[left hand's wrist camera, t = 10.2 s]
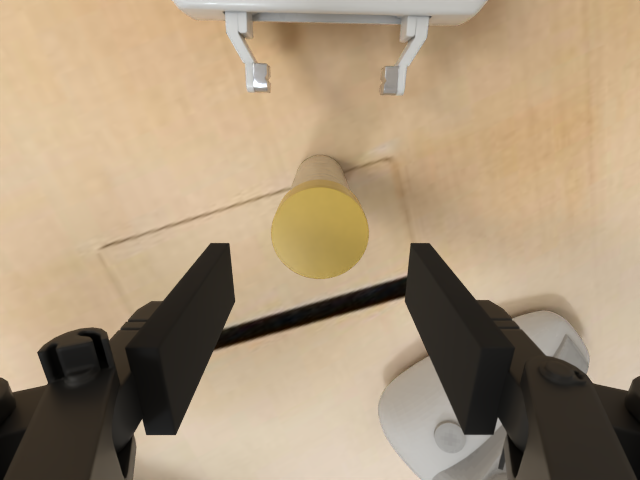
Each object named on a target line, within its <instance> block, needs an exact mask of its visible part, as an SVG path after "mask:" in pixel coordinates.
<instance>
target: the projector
mask: <svg viewBox="0 0 640 480" xmlns="http://www.w3.org/2000/svg"><path fill="white" fill-rule="evenodd" d="M512 321H515V322H516V323H517V325H518V326H519V327H520V329H522V330H523V331H524V332H525V333H526V334H527V335H528V337H529V338H530V339H531V340H532V341H533V342H534V343H535V344H536V345H537V346H538V347H539V348H540V350H541V351H542V352H543V353H544V354H545V355H546V356H552V357H555V358H558V359H561V360H564V361H566V362H568V363H570V364H572V365H574V366H576V367H577V368H579V369H580V370H581V371H583V372H584V373H585V374H586V373H587V371H588V367H589V366H588V365H589V353H588V350H587V348H586V346H585V344H584V342H583V341H582V339H581V338H580V336H579V335H578V333H577V332H576V330H575V329H574V328H573V327H572V325H571V324H570V323H569V322H568V321H567V320H566V319H564V318H563V317H562V316H560V315H558V314H556V313H554V312H551V311H536V312H531V313H528V314H524V315H521V316H518V317H515V318H512ZM378 414H379V420H380V423H381V427H382V429H383V432H384V434H385V436H386V438H387V440H388V441H389V443H390V444H391V446H392V447H393V449H394V450H395V451H396V452H397V454H398V455H399V456H400V457H401V459H402V460H403V461H404V462H405V463H406V464H407V466H408V467H409V468H410V469H411V470H412V471H413V472H414V473H415V474H416V475H417V476H418V477H419V478H420V479H421V480H507V472H506V463H505V464H504V468H503V470H500V469H498V465H499V460H500V456H501V452H502V449H503V445H504V441H505V437H506V433H507V432H506V430H505V428H504V427H503V425H502V423H501V422H500V420H499V418H498V419H497V423H496V427H495V431H494V435H464V433H463V431H462V429H461V427H460V424H459V422H458V420H457V418H456V415H455V413H454V411H453V409H452V406H451V404H450V402H449V400H448V397H447V395H446V393H445V391H444V388H443V386H442V384H441V382H440V379H439V377H438V375H437V373H436V370H435V368H434V366H433V364H432V361H431V359H430V357H429V356H428V357H426V358H424V359H423V360H421V361H419V362H418V363H416V364H415V365H413V366H411V367H410V368H408V369H407V370H406V371H404V372H403V373H401V374H400V375H399V376H397V377H396V378H395V379H394V380H393V381H392V382H391V383H390V384H389V385H388V386H387V387H386V388H385V390H384V391H383V393H382V395H381V397H380V400H379V404H378Z"/></svg>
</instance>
